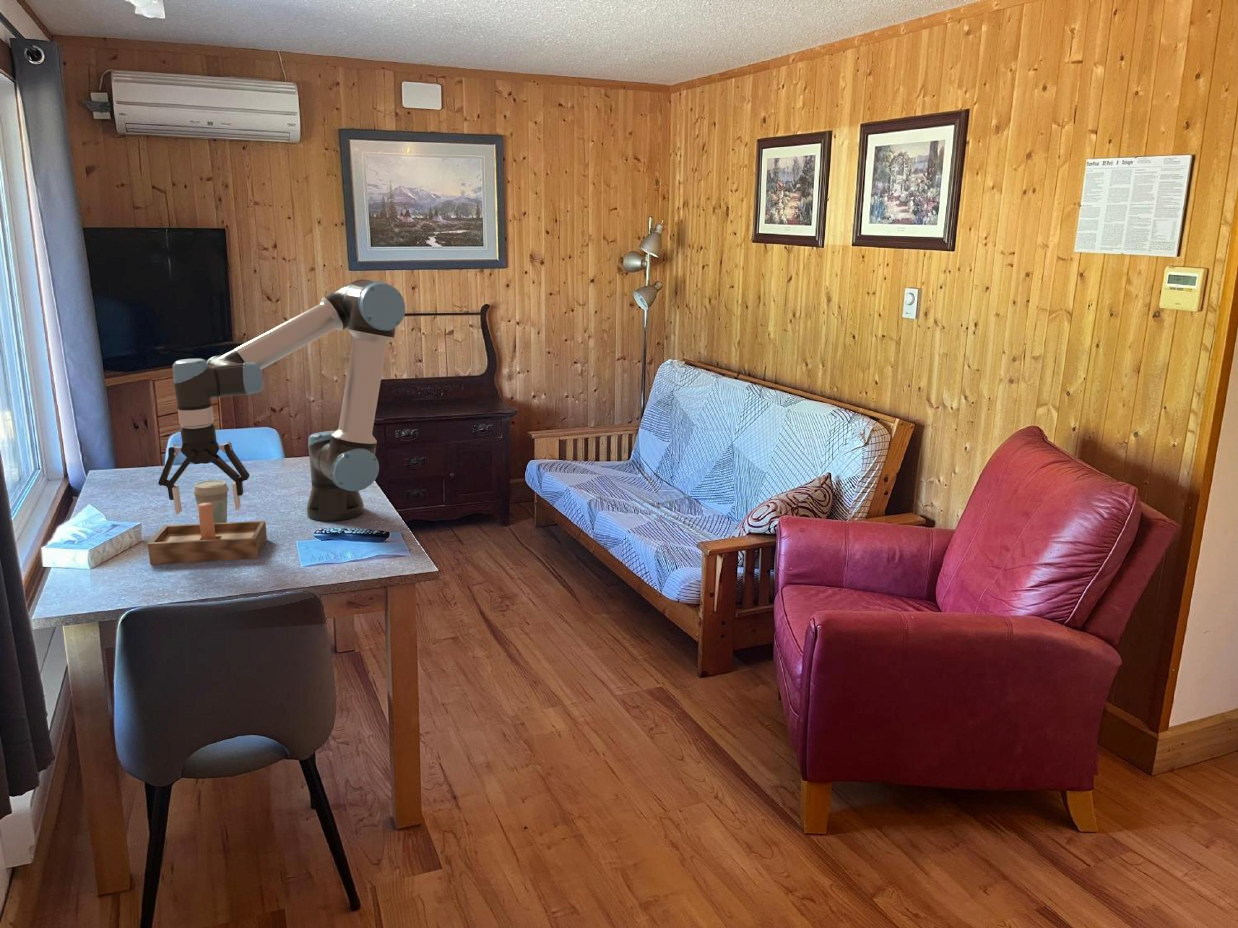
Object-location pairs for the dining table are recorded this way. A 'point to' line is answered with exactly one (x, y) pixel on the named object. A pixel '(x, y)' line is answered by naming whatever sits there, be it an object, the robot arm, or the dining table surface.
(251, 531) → the crate
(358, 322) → the robot arm
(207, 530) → the peg
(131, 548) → the dining table surface
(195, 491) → the coffee cup
